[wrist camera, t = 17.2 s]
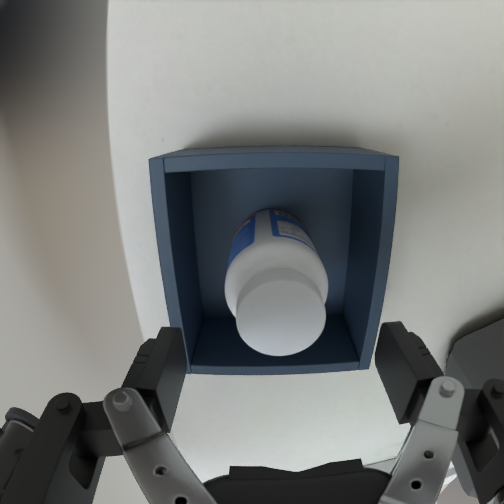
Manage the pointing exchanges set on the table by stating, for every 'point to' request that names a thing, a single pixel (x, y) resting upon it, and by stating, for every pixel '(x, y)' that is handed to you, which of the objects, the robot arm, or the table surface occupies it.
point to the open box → (301, 207)
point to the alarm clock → (476, 376)
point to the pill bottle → (276, 284)
